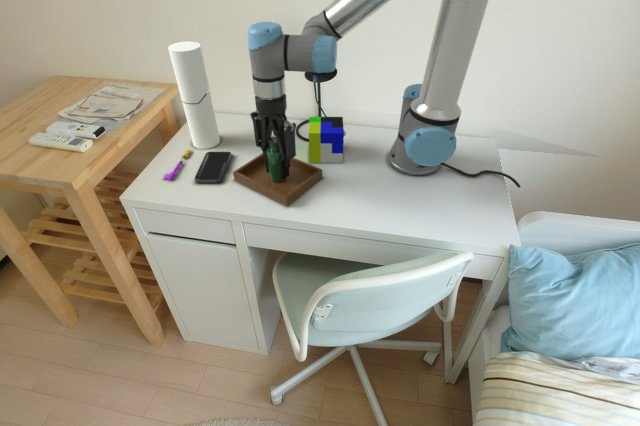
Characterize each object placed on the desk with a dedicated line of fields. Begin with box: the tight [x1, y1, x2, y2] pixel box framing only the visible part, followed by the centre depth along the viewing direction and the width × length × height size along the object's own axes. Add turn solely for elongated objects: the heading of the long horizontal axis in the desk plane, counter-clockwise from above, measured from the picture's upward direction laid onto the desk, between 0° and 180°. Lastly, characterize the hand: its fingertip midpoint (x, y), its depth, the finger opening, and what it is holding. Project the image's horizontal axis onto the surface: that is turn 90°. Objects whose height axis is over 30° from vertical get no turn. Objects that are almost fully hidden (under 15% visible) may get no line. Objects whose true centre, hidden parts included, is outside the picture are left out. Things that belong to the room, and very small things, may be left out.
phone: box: [194, 151, 233, 185], centre depth 111 cm, size 8×1×15 cm
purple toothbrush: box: [163, 148, 191, 181], centre depth 113 cm, size 3×1×16 cm
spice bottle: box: [267, 136, 286, 182], centre depth 103 cm, size 5×5×12 cm
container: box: [167, 41, 221, 150], centre depth 114 cm, size 9×9×30 cm
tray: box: [232, 152, 323, 208], centre depth 107 cm, size 20×16×3 cm
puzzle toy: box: [308, 116, 345, 164], centre depth 114 cm, size 10×10×10 cm
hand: (277, 173), depth 106 cm, fingers closed on spice bottle, 5 cm apart
